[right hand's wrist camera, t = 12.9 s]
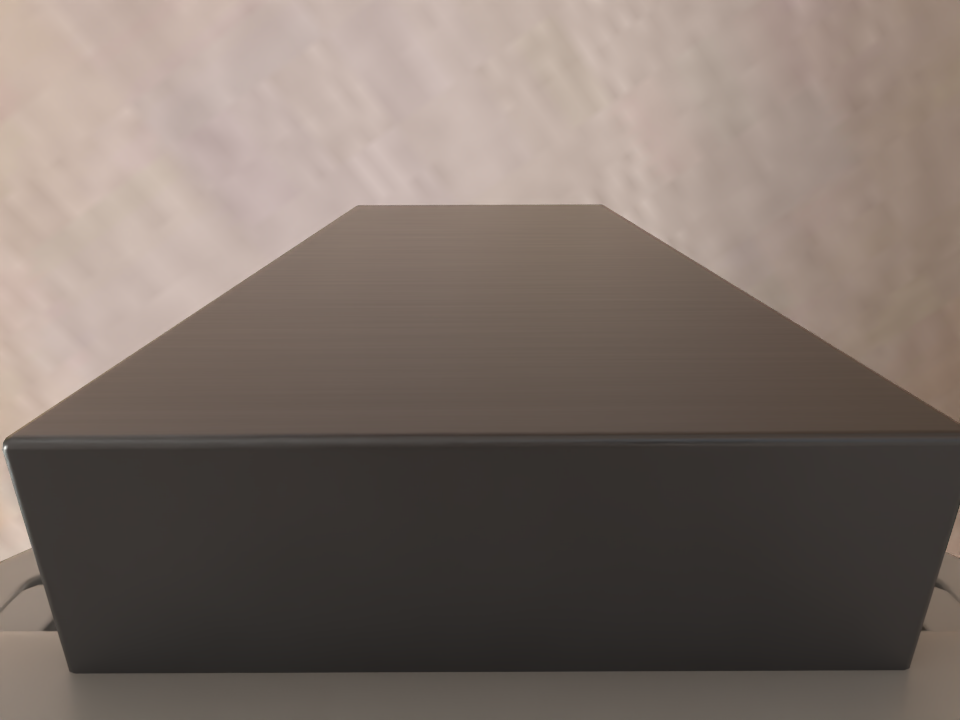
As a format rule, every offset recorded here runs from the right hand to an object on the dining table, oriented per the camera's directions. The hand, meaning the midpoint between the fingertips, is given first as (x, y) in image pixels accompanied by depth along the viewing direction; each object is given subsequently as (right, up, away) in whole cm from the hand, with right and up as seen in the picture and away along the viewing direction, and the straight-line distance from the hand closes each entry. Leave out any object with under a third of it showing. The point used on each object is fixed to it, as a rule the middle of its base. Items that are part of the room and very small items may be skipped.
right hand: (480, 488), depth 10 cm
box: (0, -6, +10) cm, 12 cm away
